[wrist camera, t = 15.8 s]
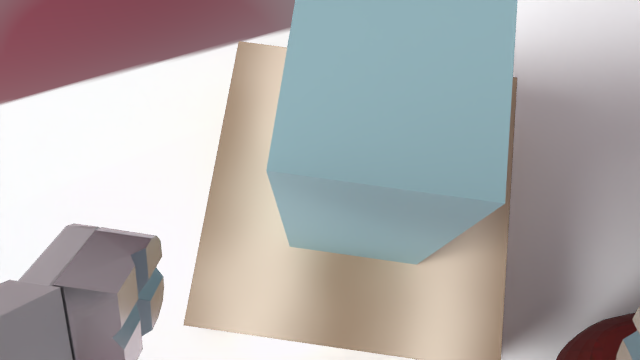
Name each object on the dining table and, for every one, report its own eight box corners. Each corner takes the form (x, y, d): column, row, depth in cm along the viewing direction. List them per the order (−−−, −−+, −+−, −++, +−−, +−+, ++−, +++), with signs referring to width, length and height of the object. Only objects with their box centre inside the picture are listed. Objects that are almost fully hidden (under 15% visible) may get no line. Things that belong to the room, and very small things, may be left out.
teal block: (428, 144, 24) (517, -9, 13) (416, 264, 23) (504, 203, 12) (308, 127, 24) (301, -36, 13) (289, 246, 23) (266, 170, 12)
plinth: (490, 112, 29) (517, 77, 25) (472, 365, 26) (500, 371, 22) (249, 80, 29) (238, 41, 25) (203, 326, 26) (183, 325, 22)
